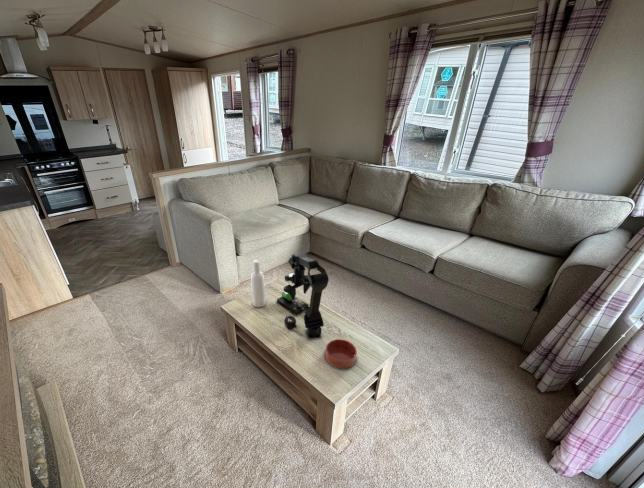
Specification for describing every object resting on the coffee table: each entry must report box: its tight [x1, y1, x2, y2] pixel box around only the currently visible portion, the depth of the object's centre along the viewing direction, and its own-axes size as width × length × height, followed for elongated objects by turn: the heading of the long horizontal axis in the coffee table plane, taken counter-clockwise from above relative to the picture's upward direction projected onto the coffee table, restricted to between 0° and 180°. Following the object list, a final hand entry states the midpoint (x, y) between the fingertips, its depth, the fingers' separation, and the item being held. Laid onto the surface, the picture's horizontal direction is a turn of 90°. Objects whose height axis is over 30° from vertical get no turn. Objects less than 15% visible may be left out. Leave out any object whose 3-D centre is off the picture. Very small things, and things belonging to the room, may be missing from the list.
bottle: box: [250, 259, 267, 308], centre depth 176 cm, size 8×8×30 cm
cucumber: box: [281, 291, 293, 301], centre depth 182 cm, size 4×9×4 cm, turn 40°
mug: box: [283, 313, 302, 335], centre depth 161 cm, size 12×6×8 cm, turn 42°
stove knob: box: [296, 298, 303, 308], centre depth 175 cm, size 4×4×4 cm
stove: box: [276, 295, 310, 317], centre depth 180 cm, size 18×10×3 cm, turn 40°
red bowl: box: [325, 338, 358, 369], centre depth 144 cm, size 14×14×5 cm
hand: (298, 296), depth 173 cm, fingers open, 9 cm apart
